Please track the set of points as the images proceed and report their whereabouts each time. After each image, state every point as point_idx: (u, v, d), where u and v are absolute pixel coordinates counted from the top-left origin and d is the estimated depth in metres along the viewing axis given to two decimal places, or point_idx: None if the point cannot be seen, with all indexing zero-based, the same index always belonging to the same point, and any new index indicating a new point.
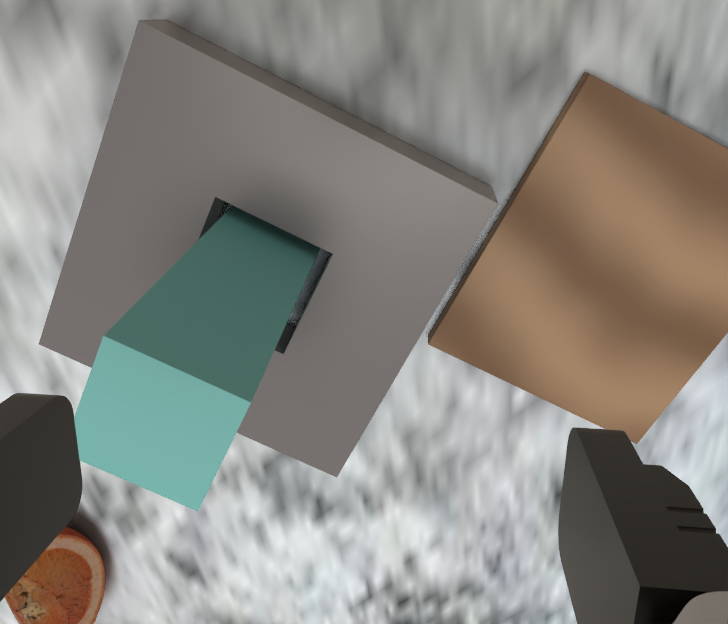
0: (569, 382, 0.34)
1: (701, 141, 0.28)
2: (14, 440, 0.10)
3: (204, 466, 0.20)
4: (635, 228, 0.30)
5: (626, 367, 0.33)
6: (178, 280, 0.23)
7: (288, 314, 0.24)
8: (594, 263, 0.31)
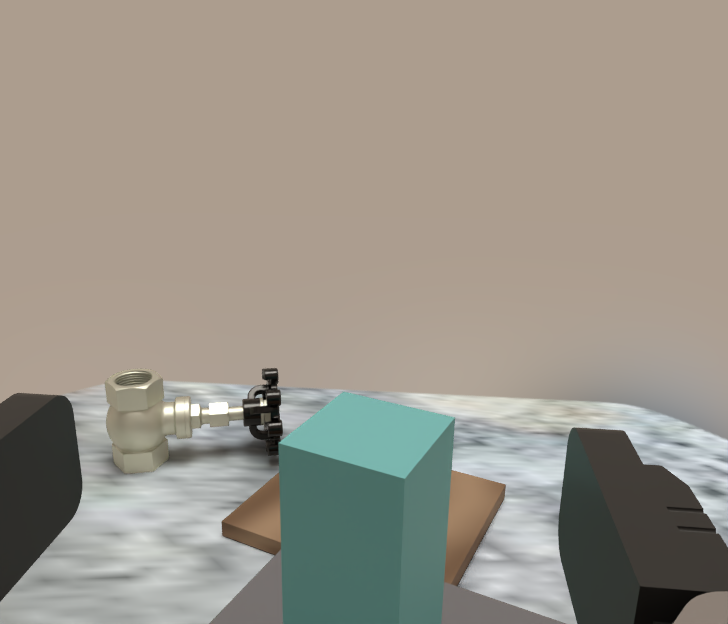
0: (461, 517, 0.41)
1: (276, 477, 0.45)
2: (14, 440, 0.10)
3: (405, 411, 0.24)
4: None
5: None
6: None
7: None
8: None
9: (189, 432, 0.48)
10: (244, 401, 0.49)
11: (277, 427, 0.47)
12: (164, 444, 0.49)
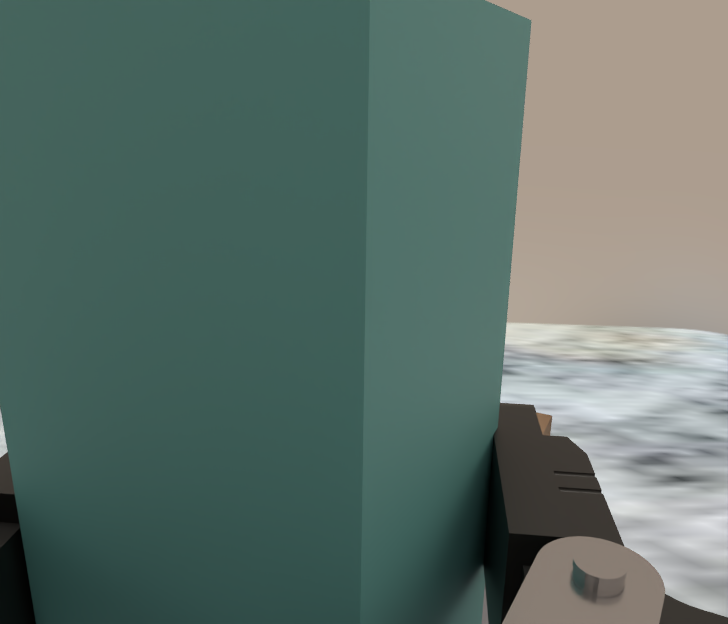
0: None
1: None
2: None
3: None
4: None
5: None
6: None
7: None
8: None
9: None
10: None
11: None
12: None
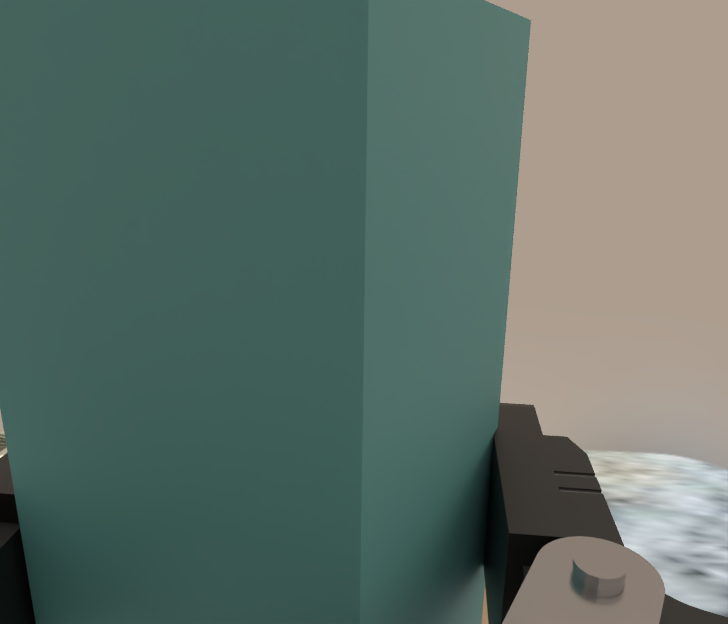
0: None
1: None
2: None
3: None
4: None
5: None
6: None
7: None
8: None
9: None
10: None
11: None
12: None
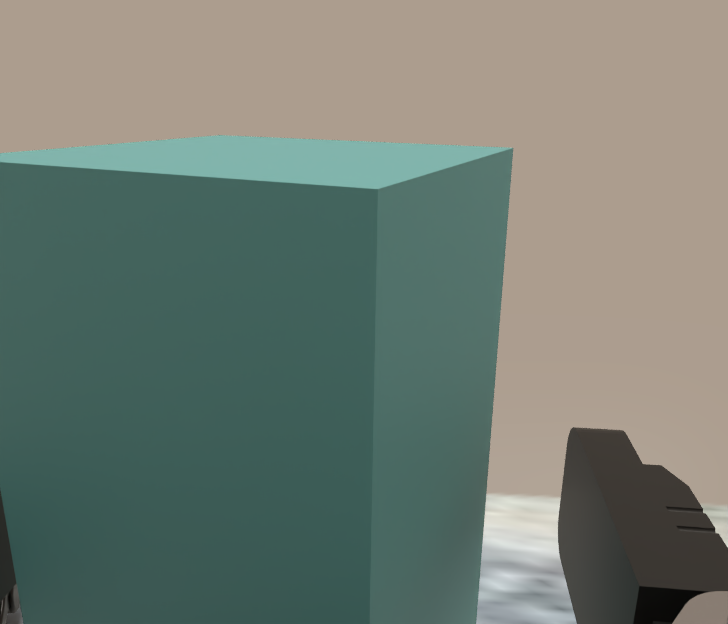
0: None
1: None
2: None
3: (376, 144, 0.09)
4: None
5: None
6: None
7: None
8: None
9: None
10: None
11: None
12: None
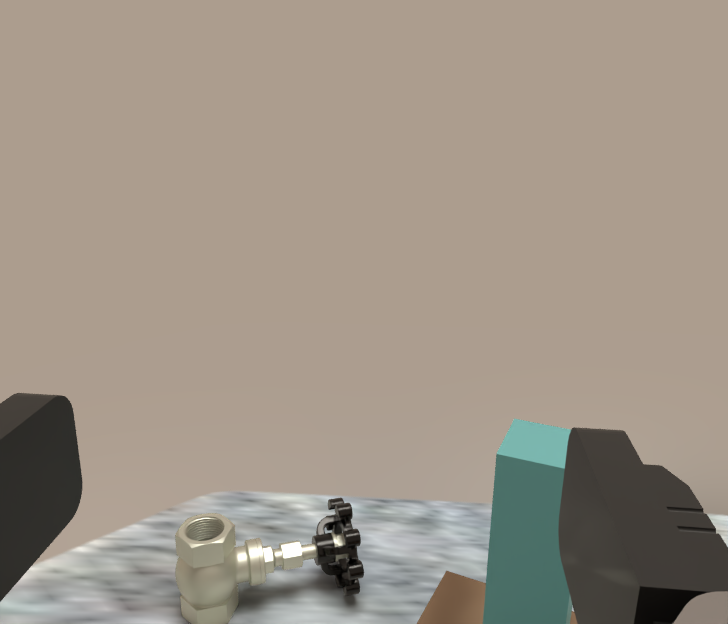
0: None
1: None
2: (14, 440, 0.10)
3: (562, 431, 0.38)
4: None
5: None
6: None
7: None
8: None
9: (264, 580, 0.45)
10: (317, 539, 0.47)
11: (358, 570, 0.45)
12: (235, 591, 0.46)
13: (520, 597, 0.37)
